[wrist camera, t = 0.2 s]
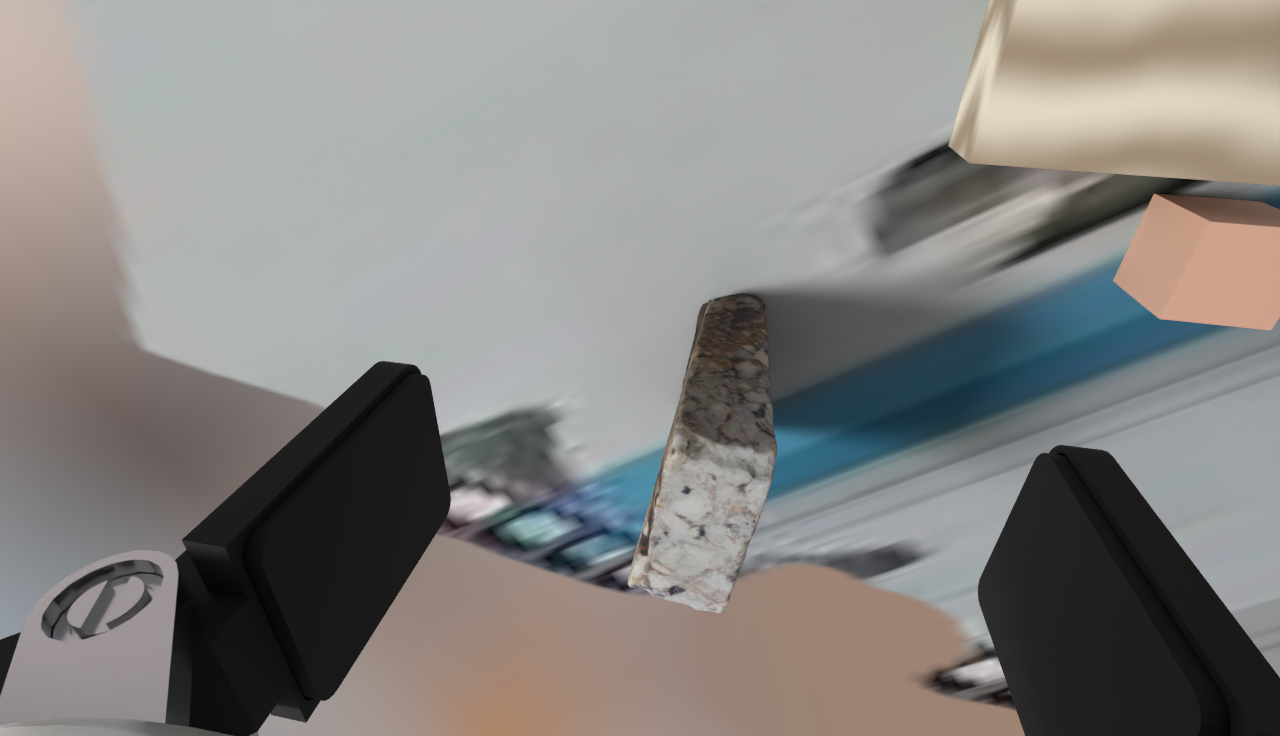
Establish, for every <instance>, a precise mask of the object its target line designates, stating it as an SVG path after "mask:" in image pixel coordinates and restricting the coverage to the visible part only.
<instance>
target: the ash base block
mask: <svg viewBox="0 0 1280 736" xmlns="http://www.w3.org/2000/svg"><path fill="white" fill-rule="evenodd" d="M948 146H949V147H950V148H952V149H953V150H954V151H955V152H956V153H958V154H959V155H960V156H961V157H963V158H964V159H965V160H966V161H968V162H969V163H975V164H989V165H1002V166H1016V167H1030V168H1044V169H1058V170H1072V171H1085V172H1099V173H1113V174H1127V175H1141V176H1155V177H1168V178H1182V179H1196V180H1210V181H1224V182H1238V183H1251V184H1265V185H1279V186H1280V0H990V2H989V5H988V9H987V12H986V16H985V19H984V23H983V26H982V30H981V33H980V37H979V40H978V44H977V47H976V51H975V54H974V58H973V61H972V65H971V68H970V72H969V75H968V79H967V82H966V86H965V89H964V93H963V96H962V100H961V103H960V107H959V110H958V114H957V117H956V121H955V124H954V128H953V131H952V135H951V138H950V142H949V145H948Z"/></svg>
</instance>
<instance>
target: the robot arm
mask: <svg viewBox="0 0 1280 736" xmlns="http://www.w3.org/2000/svg"><path fill="white" fill-rule="evenodd" d="M450 502H451V497H450V490H449V485H448V479H447V474H446V468H445V462H444V457H443V451H442V446H441V440H440V435H439V429H438V424H437V418H436V413H435V407H434V402H433V396H432V391H431V385H430V381H429V379H428V377H427V376H425V375H421V372H420V370H419V369H418V367H417V366H415V365H411V364H402V363H394V362H386V361H381V362H378V363H376V364H375V365H374V366H372V367H371V368H370V369H369V370H368V371H367V372H366V373H365V374H364V375H363V376H361V377H360V378H359V379H358V380H357V381H356V382H355V383H354V384H353V385H352V386H350V387H349V388H348V389H347V390H346V391H345V392H344V393H343V394H342V395H341V396H339V397H338V398H337V399H336V400H335V401H334V402H333V403H332V404H331V405H330V406H328V407H327V408H326V409H325V410H324V411H323V412H322V413H321V414H320V415H319V416H318V417H316V418H315V419H314V420H313V421H312V422H311V423H310V424H309V425H308V426H307V427H306V428H304V429H303V430H302V431H301V432H300V433H299V434H298V435H297V436H296V437H294V438H293V439H292V440H291V441H290V442H289V443H288V444H287V445H286V446H285V447H283V448H282V449H281V450H280V451H279V452H278V453H277V454H276V455H275V456H274V457H273V458H271V459H270V460H269V461H268V462H267V463H266V464H265V465H264V466H263V467H261V468H260V469H259V470H258V471H257V472H256V473H255V474H254V475H253V476H252V477H250V479H248V480H247V481H246V482H245V483H244V484H243V485H242V486H241V487H240V488H238V489H237V490H236V491H235V492H234V493H233V494H232V495H231V496H230V497H229V498H227V499H226V500H225V501H224V502H223V503H222V504H221V505H220V506H219V507H217V509H215V510H214V511H213V512H212V513H211V514H210V515H209V516H208V517H207V518H205V520H203V521H202V522H201V523H200V524H199V525H198V526H197V527H196V528H194V529H193V530H192V531H191V532H190V533H189V534H188V535H187V536H186V537H185V538H183V539H182V541H183V543H184V545H185V547H186V549H187V550H186V551H185V552H184V553H182V554H181V555H180V556H179V557H178V558H177V559H176V560H175V561H174V560H173V559H172V558H171V557H170V556H169V555H168V554H165V553H161V552H157V551H154V550H149V551H148V550H144V551H131V552H126V553H122V554H117V555H113V556H110V557H107V558H105V559H102V560H100V561H97V562H94V563H92V564H89V565H88V566H86V567H84V568H82V569H80V570H79V571H77V572H75V573H73V574H71V575H69V576H68V577H66V578H65V579H64V580H62V581H61V582H60V583H58V584H57V585H56V586H54V587H53V588H51V589H50V590H49V591H48V592H47V593H46V594H45V595H44V596H43V597H42V598H41V599H40V600H39V601H38V602H37V603H36V604H35V606H34V607H33V608H32V610H31V611H30V613H29V615H28V617H27V619H26V621H25V623H24V625H23V628H22V631H21V632H20V633H17V634H15V635H12V636H9V637H6V638H4V639H1V640H0V736H258V730H259V728H260V727H261V725H262V724H263V723H264V721H265V720H266V718H267V717H268V716H269V714H270V713H271V715H274V716H279V717H283V718H288V719H292V720H297V721H302V722H307V721H308V719H309V718H310V716H311V714H312V713H313V711H314V710H315V708H316V707H317V705H318V704H319V702H320V700H323V701H325V700H327V699H329V698H330V697H331V696H332V695H334V693H335V692H336V691H337V689H338V688H339V686H340V685H341V683H342V681H343V680H344V678H345V677H346V675H347V674H348V672H349V670H350V669H351V667H352V666H353V664H354V662H355V661H356V659H357V658H358V656H359V655H360V653H361V651H362V650H363V648H364V647H365V645H366V644H367V642H368V640H369V639H370V637H371V636H372V634H373V632H374V631H375V629H376V628H377V626H378V625H379V623H380V621H381V620H382V618H383V617H384V615H385V613H386V612H387V610H388V608H389V607H390V606H391V604H392V602H393V601H394V599H395V598H396V596H397V594H398V593H399V591H400V590H401V588H402V587H403V585H404V583H405V582H406V580H407V579H408V577H409V576H410V574H411V572H412V571H413V569H414V568H415V566H416V564H417V563H418V561H419V560H420V558H421V557H422V555H423V553H424V552H425V550H426V549H427V547H428V545H429V544H430V542H431V541H432V539H433V538H434V536H435V534H436V533H437V531H438V530H439V528H440V527H441V525H442V523H443V522H444V520H445V519H446V517H447V515H448V512H449V508H450ZM978 598H979V603H980V607H981V610H982V612H983V615H984V618H985V621H986V624H987V627H988V630H989V633H990V635H991V638H992V641H993V644H994V647H995V650H996V653H997V656H998V659H999V661H1000V664H1001V667H1002V670H1003V673H1004V676H1005V679H1006V682H1007V684H1008V687H1009V690H1010V693H1011V696H1012V699H1013V702H1014V705H1015V707H1016V710H1017V713H1018V716H1019V719H1020V722H1021V725H1022V727H1023V730H1024V733H1025V736H1280V678H1279V676H1278V675H1277V674H1276V672H1275V671H1274V670H1273V668H1272V667H1271V666H1270V664H1269V663H1268V662H1267V660H1266V659H1265V658H1264V656H1263V655H1262V654H1261V652H1260V651H1259V650H1258V648H1257V647H1256V646H1255V644H1254V643H1253V642H1252V640H1251V639H1250V638H1249V636H1248V635H1247V634H1246V632H1245V631H1244V630H1243V628H1242V627H1241V626H1240V625H1239V623H1238V622H1237V621H1236V619H1235V618H1234V617H1233V615H1232V614H1231V613H1230V611H1229V610H1228V609H1227V607H1226V606H1225V605H1224V603H1223V602H1222V601H1221V599H1220V598H1219V597H1218V595H1217V594H1216V593H1215V591H1214V590H1213V589H1212V587H1211V586H1210V585H1209V583H1208V582H1207V581H1206V579H1205V578H1204V577H1203V575H1202V574H1201V573H1200V572H1199V570H1198V569H1197V568H1196V566H1195V565H1194V564H1193V562H1192V561H1191V560H1190V558H1189V557H1188V556H1187V554H1186V553H1185V552H1184V550H1183V549H1182V548H1181V546H1180V545H1179V544H1178V542H1177V541H1176V540H1175V538H1174V537H1173V536H1172V534H1171V533H1170V532H1169V530H1168V529H1167V528H1166V526H1165V525H1164V524H1163V522H1162V521H1161V520H1160V519H1159V517H1158V516H1157V515H1156V513H1155V512H1154V511H1153V509H1152V508H1151V507H1150V505H1149V504H1148V503H1147V501H1146V500H1145V499H1144V497H1143V496H1142V495H1141V493H1140V492H1139V491H1138V489H1137V488H1136V487H1135V485H1134V484H1133V483H1132V481H1131V480H1130V479H1129V477H1128V476H1127V475H1126V473H1125V472H1124V471H1123V469H1122V468H1121V467H1120V466H1119V464H1118V463H1117V462H1116V460H1115V459H1114V458H1113V456H1112V455H1110V454H1109V453H1108V452H1106V451H1103V450H1097V449H1089V448H1081V447H1073V446H1065V445H1059V446H1056V447H1054V448H1053V449H1052V450H1051V451H1050V453H1049V454H1047V453H1043V454H1040V455H1039V456H1038V457H1037V458H1036V460H1035V461H1034V463H1033V466H1032V468H1031V470H1030V472H1029V474H1028V476H1027V479H1026V481H1025V483H1024V485H1023V487H1022V489H1021V491H1020V494H1019V496H1018V498H1017V500H1016V502H1015V504H1014V506H1013V509H1012V511H1011V513H1010V515H1009V517H1008V519H1007V522H1006V524H1005V526H1004V528H1003V530H1002V532H1001V534H1000V537H999V539H998V541H997V543H996V545H995V547H994V549H993V552H992V554H991V556H990V558H989V560H988V562H987V565H986V567H985V569H984V571H983V573H982V575H981V577H980V580H979V585H978Z"/></svg>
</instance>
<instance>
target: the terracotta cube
mask: <svg viewBox="0 0 1280 736" xmlns="http://www.w3.org/2000/svg"><path fill="white" fill-rule="evenodd" d="M1113 282H1115V283H1116V284H1117V285H1118V286H1120V287H1121V288H1122V289H1123V290H1124V291H1126V292H1127V293H1128V294H1129V295H1131V296H1132V297H1133V298H1134V299H1135V300H1137V301H1138V302H1139V303H1140V304H1142V305H1143V306H1144V307H1145V308H1146V309H1148V310H1149V311H1150V312H1151V313H1153V314H1154V315H1155V316H1156V317H1157V318H1159V319H1165V320H1175V321H1185V322H1194V323H1204V324H1214V325H1224V326H1234V327H1243V328H1253V329H1263V330H1272V328H1273V326H1274V325H1275V323H1276V322H1277V320H1278V319H1279V317H1280V209H1278V208H1275V207H1273V206H1270V205H1268V204H1265V203H1263V202H1260V201H1247V200H1234V199H1221V198H1207V197H1194V196H1181V195H1168V194H1155V193H1154V195H1153V197H1152V199H1151V202H1150V204H1149V206H1148V208H1147V210H1146V212H1145V214H1144V216H1143V218H1142V221H1141V223H1140V225H1139V227H1138V229H1137V231H1136V233H1135V235H1134V238H1133V240H1132V242H1131V244H1130V246H1129V248H1128V250H1127V252H1126V255H1125V257H1124V259H1123V261H1122V263H1121V265H1120V267H1119V269H1118V271H1117V274H1116V276H1115V278H1114V280H1113Z"/></svg>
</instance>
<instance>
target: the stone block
mask: <svg viewBox="0 0 1280 736" xmlns="http://www.w3.org/2000/svg"><path fill="white" fill-rule="evenodd" d="M764 310H765V305H764V304H763V301H762V300H761V299H759V298H757V297H754V296H750V295H746V294H738V295H730V296H728V297H724V298H718V299H717V300H715V301H712V300H709V302H708V303H706V304H703V305H702V307H701V309H700V311H699V315H698V319H697V326H696V333H695V338H694V341H693V345H692V349H691V353H690V357H689V361H688V365H687V369H686V374H685V378H684V381H683V387H682V392H681V396H680V400H679V403H678V407H677V410H676V413H675V417H674V420H673V424H672V427H671V430H670V434H669V437H668V441H667V445H666V448H665V451H664V455H663V458H662V462H661V465H660V469H659V472H658V476H657V479H656V483H655V486H654V489H653V493H652V496H651V500H650V503H649V506H648V510H647V513H646V517H645V521H644V524H643V528H642V531H641V535H640V538H639V541H638V545H637V548H636V552H635V555H634V559H633V562H632V566H631V570H630V573H629V577H628V585H629V586H630V587H632V588H637V587H638V588H643V589H645V590H647V591H648V592H649V593H650V594H652V595H653V596H655V597H662V598H664V599H666V600H669V601H672V602H677V603H684V604H687V605H690V606H692V607H693V608H695V609H696V610H706V611H712V612H717V613H721V612H723V611H724V610H725V608H726V606H727V604H728V602H729V599H730V596H731V593H732V591H733V588H734V585H735V582H736V579H737V577H738V574H739V571H740V568H741V565H742V563H743V561H744V559H745V555H746V551H747V548H748V545H749V543H750V540H751V538H752V536H753V534H754V531H755V529H756V526H757V524H758V521H759V518H760V515H761V512H762V509H763V506H764V503H765V501H766V499H767V496H768V492H769V488H770V485H771V482H772V478H773V473H774V467H775V461H776V455H777V443H776V440H775V434H774V430H773V406H772V400H771V396H770V376H769V357H768V334H767V331H766V315H765V311H764Z"/></svg>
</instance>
